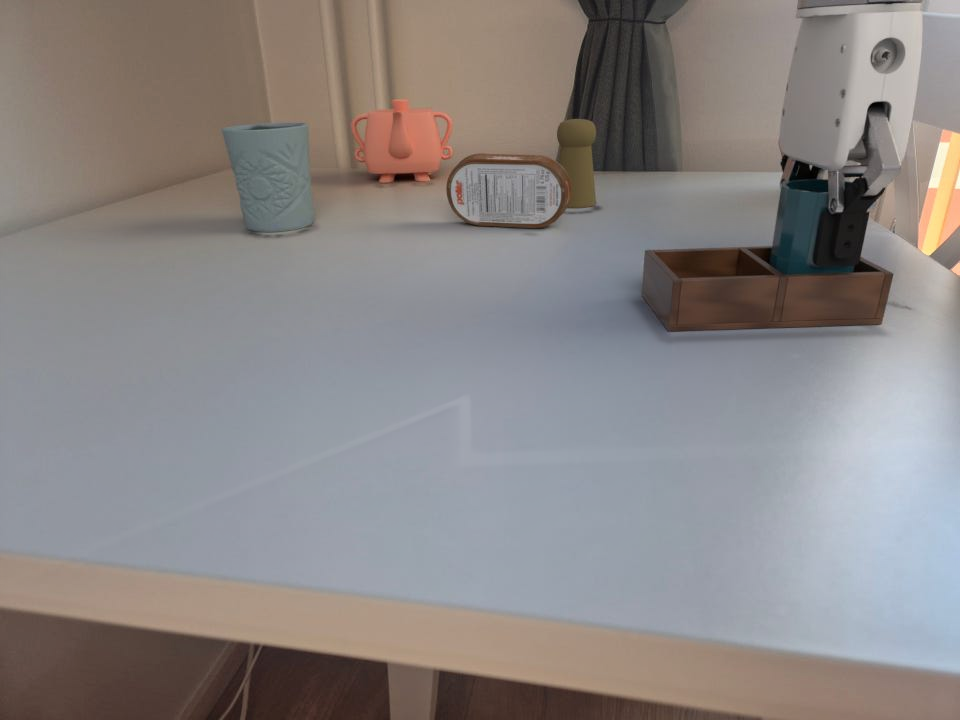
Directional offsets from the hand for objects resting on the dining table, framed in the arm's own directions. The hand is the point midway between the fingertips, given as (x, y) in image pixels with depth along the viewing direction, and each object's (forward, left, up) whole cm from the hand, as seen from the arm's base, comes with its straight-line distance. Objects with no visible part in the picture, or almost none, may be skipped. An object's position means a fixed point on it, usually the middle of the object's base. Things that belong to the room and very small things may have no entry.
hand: (813, 250), depth 53 cm
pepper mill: (+12, -43, -5) cm, 45 cm away
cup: (0, 0, -3) cm, 3 cm away
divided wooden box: (+4, 0, -5) cm, 6 cm away
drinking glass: (+51, -36, -5) cm, 63 cm away
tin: (+22, -31, -5) cm, 38 cm away
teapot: (+37, -68, -5) cm, 78 cm away
